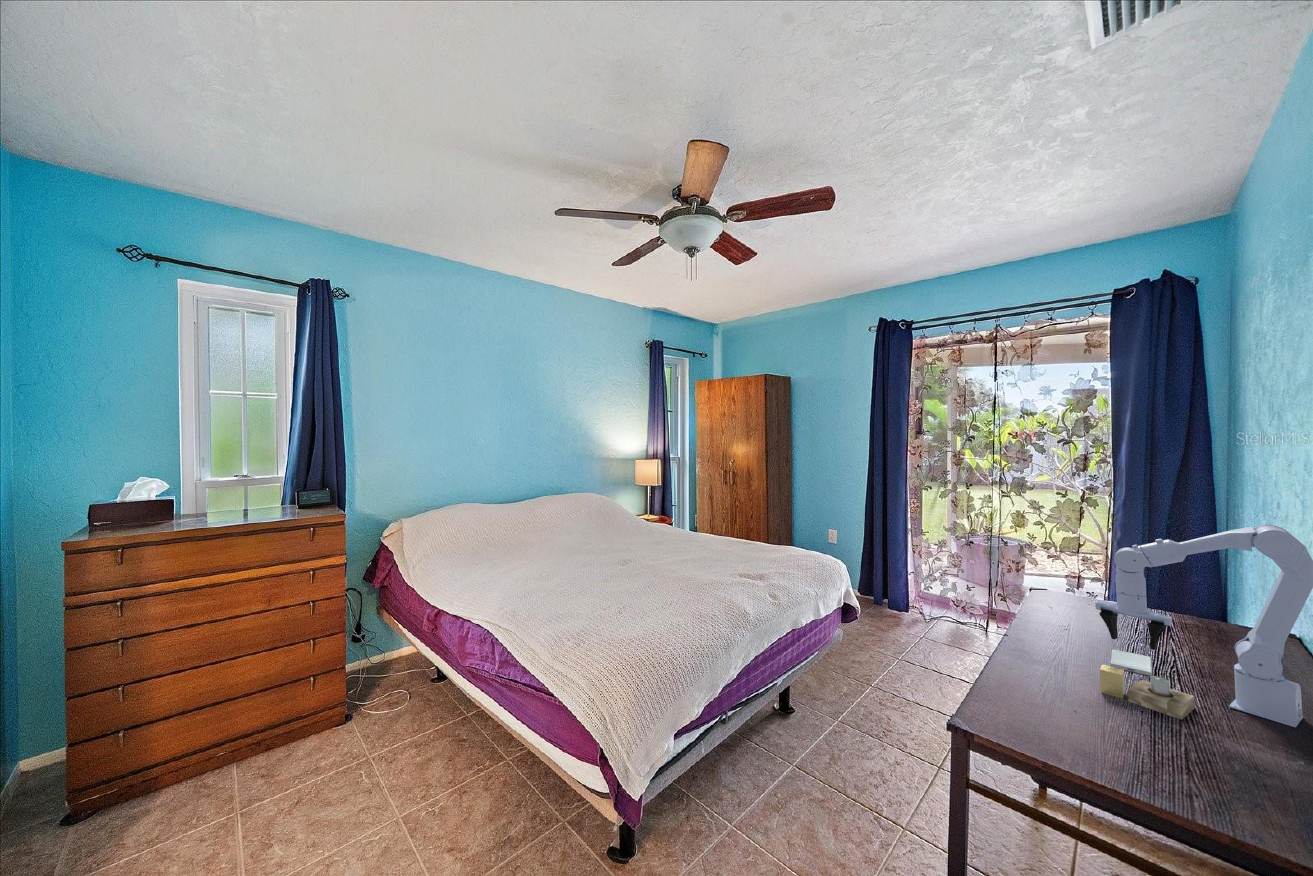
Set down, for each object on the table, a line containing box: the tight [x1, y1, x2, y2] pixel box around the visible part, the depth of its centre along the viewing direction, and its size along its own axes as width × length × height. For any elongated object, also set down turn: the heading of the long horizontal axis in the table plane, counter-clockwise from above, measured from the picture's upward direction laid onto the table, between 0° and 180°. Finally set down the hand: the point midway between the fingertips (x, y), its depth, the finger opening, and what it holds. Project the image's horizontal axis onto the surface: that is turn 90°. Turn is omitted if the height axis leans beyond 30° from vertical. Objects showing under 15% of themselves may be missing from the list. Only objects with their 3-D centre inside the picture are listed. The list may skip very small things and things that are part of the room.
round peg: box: [1149, 675, 1171, 698], centre depth 113 cm, size 3×3×6 cm
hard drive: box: [1110, 649, 1153, 677], centre depth 133 cm, size 2×8×12 cm
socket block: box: [1127, 679, 1195, 721], centre depth 113 cm, size 9×9×3 cm
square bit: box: [1099, 664, 1126, 700], centre depth 119 cm, size 4×4×6 cm
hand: (1133, 643), depth 125 cm, fingers open, 7 cm apart
